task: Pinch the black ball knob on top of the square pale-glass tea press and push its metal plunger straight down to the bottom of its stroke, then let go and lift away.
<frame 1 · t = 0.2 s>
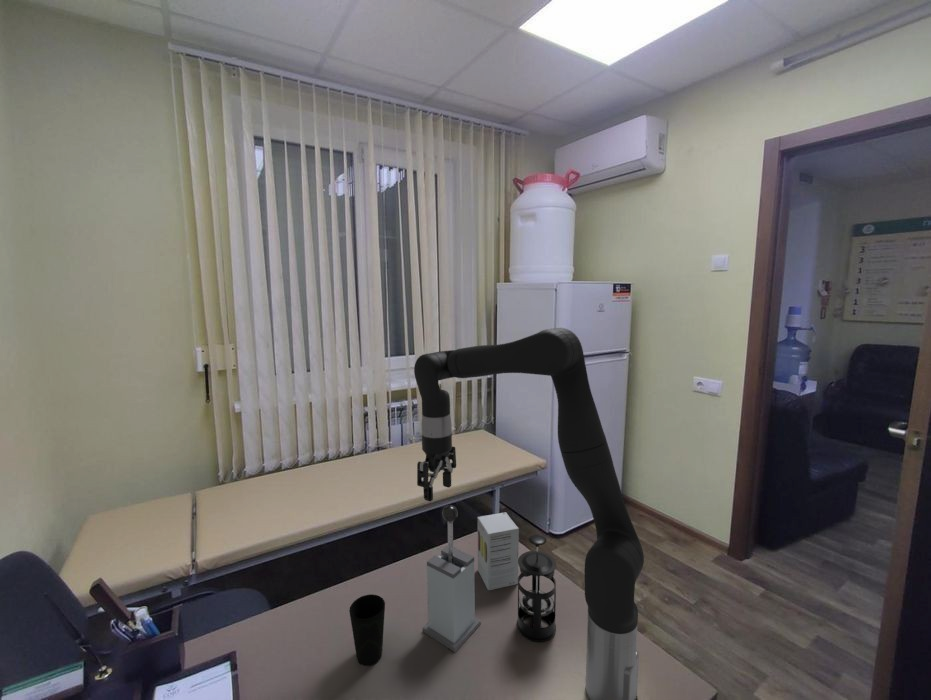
hand: (438, 493, 105), 30 cm above the table, fingers open, 8 cm apart
plunger: (450, 539, 97), point 23 cm above the table, slide at 0.0 cm
french press: (536, 625, 100), on the table
cup: (369, 656, 92), on the table
slotted square pillar: (451, 627, 99), on the table
supplement box: (497, 577, 118), on the table
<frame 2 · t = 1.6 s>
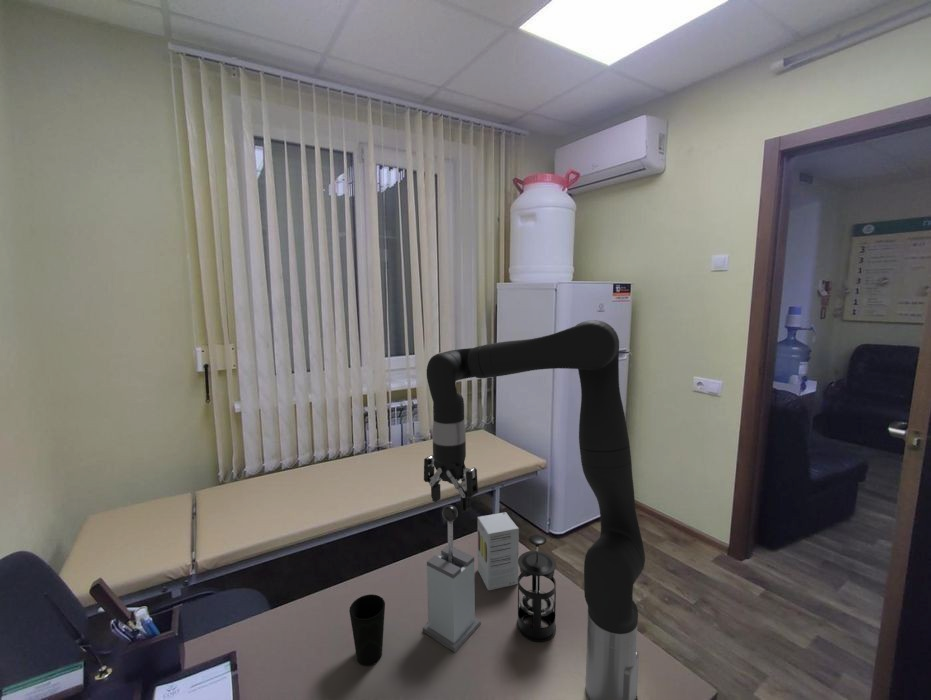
hand: (450, 505, 95), 31 cm above the table, fingers open, 8 cm apart
nothing on the table moved.
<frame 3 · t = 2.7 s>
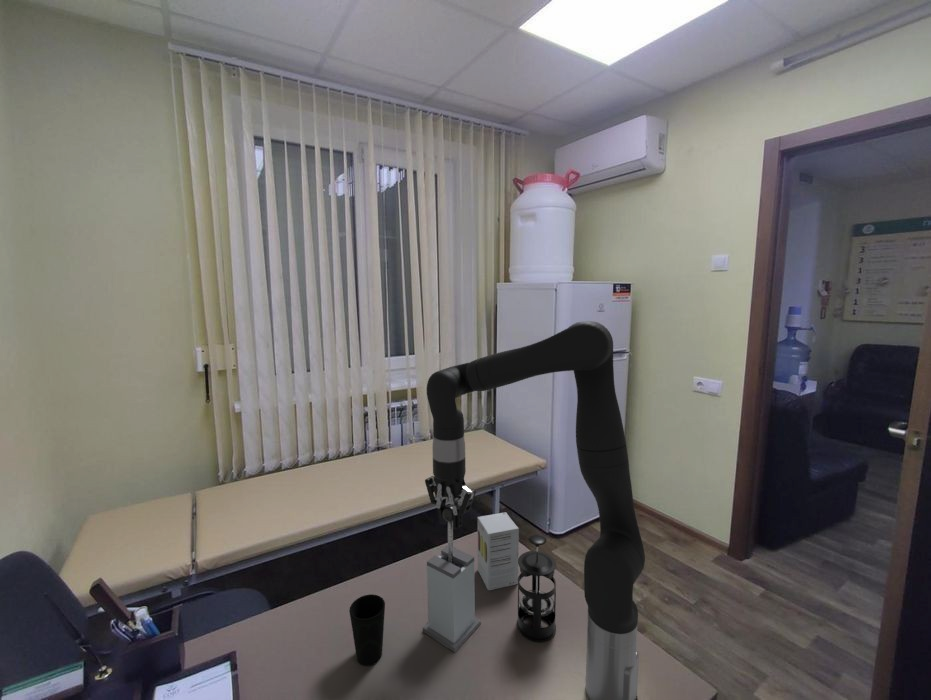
hand: (450, 524, 96), 27 cm above the table, fingers closed on plunger, 3 cm apart
plunger: (450, 539, 97), point 23 cm above the table, slide at 0.0 cm, touching gripper
everything else where it was.
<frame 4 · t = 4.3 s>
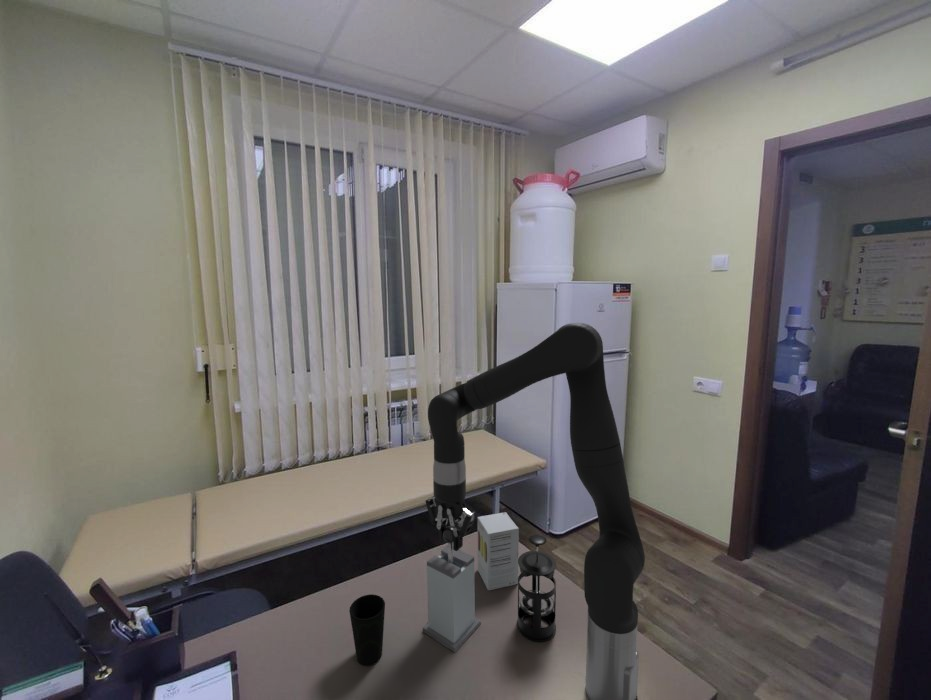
hand: (450, 545, 97), 21 cm above the table, fingers closed on plunger, 3 cm apart
plunger: (450, 560, 97), point 18 cm above the table, slide at 5.3 cm, touching gripper
everything else where it was.
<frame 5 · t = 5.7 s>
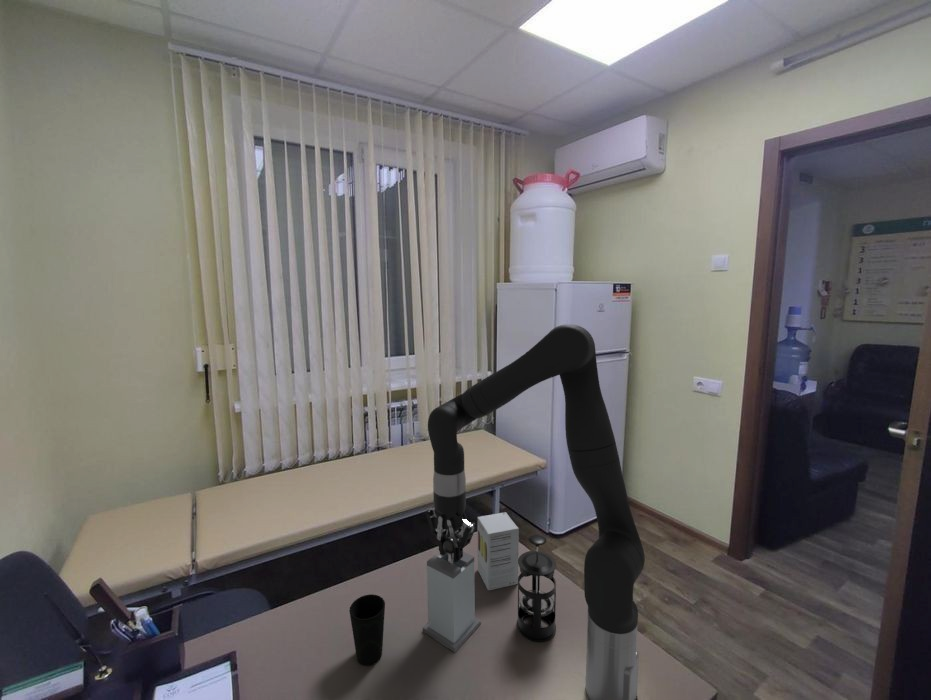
hand: (450, 556, 97), 19 cm above the table, fingers closed on plunger, 3 cm apart
plunger: (450, 570, 98), point 15 cm above the table, slide at 8.0 cm, touching gripper
everything else where it was.
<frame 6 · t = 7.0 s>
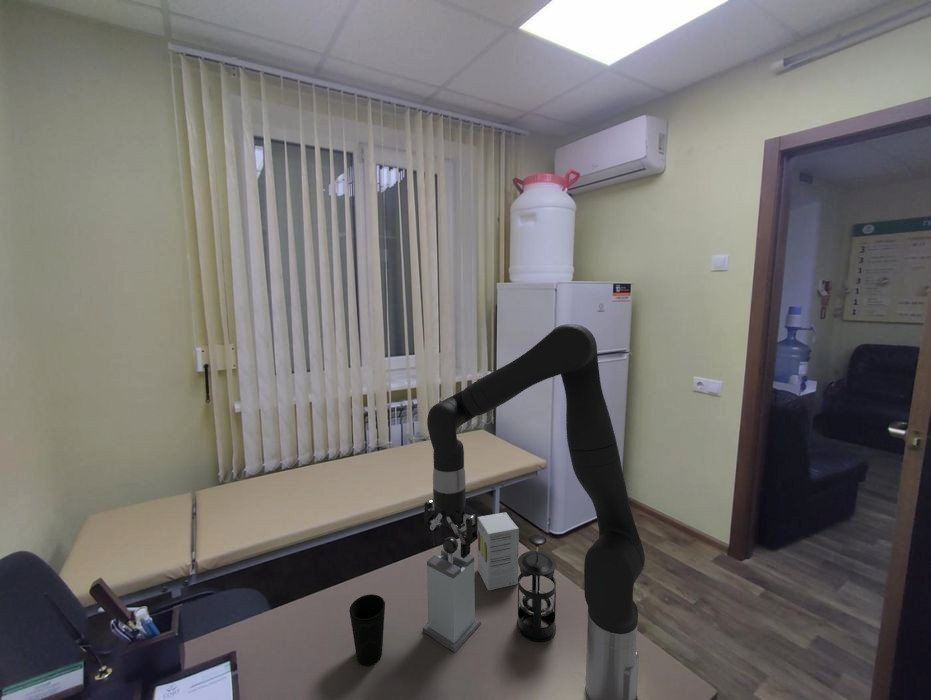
hand: (450, 549, 97), 20 cm above the table, fingers open, 8 cm apart
plunger: (450, 570, 98), point 15 cm above the table, slide at 8.0 cm
everything else where it was.
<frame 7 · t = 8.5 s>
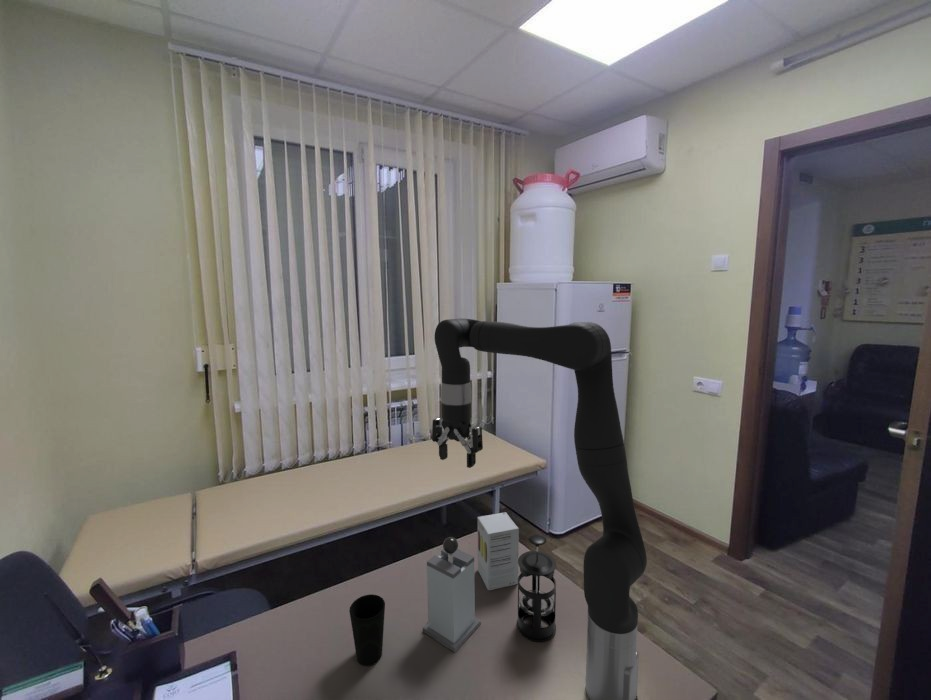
hand: (456, 462, 103), 38 cm above the table, fingers open, 8 cm apart
nothing on the table moved.
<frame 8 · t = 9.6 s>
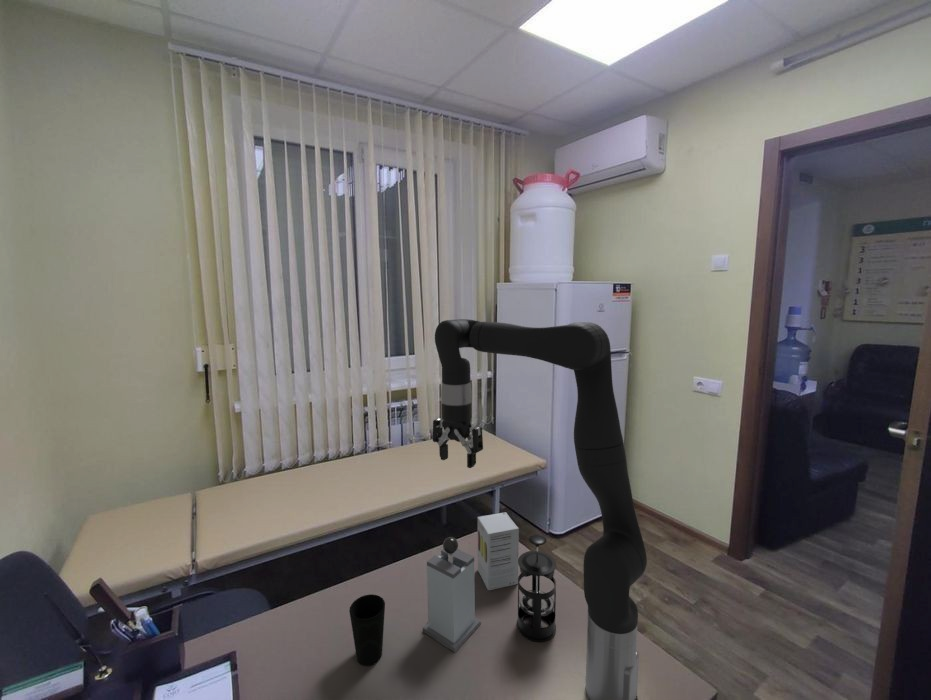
hand: (457, 463, 103), 38 cm above the table, fingers open, 8 cm apart
nothing on the table moved.
at the end: plunger slide at 8.0 cm; the gripper is holding nothing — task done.
